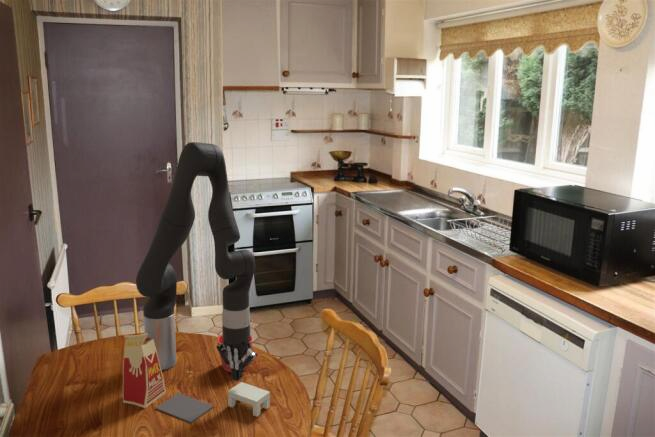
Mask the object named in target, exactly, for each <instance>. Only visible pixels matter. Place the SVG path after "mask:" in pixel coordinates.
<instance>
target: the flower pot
mask: <svg viewBox="0 0 655 437" xmlns="http://www.w3.org/2000/svg"><path fill="white" fill-rule="evenodd" d="M223 340H224V339H223V334H221V335H219V336H218V337H217V339H216V342H217V346H218V345H219V344H221V343H223ZM253 340H254V338H253V336H252V335H251V334H250V339H249V343H250V346H251V348H250V349H251V350H252V347H253ZM246 356H247V354H246V355H245V359H244V361H245V360H246V359H247V358H246ZM219 357H220V360H221V364H222V368H223V369H224V371H225V372H228V373H232V372H231V367H230V365H229V364H228V365H227V364H226V363H225V362H224V360H223V358H222V356H221V355H220V354H219ZM226 357H227V358H228V356H227V355H226ZM247 368H248V366H247V367H245V368H244V369H243V371H245V370H247Z"/></svg>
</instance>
